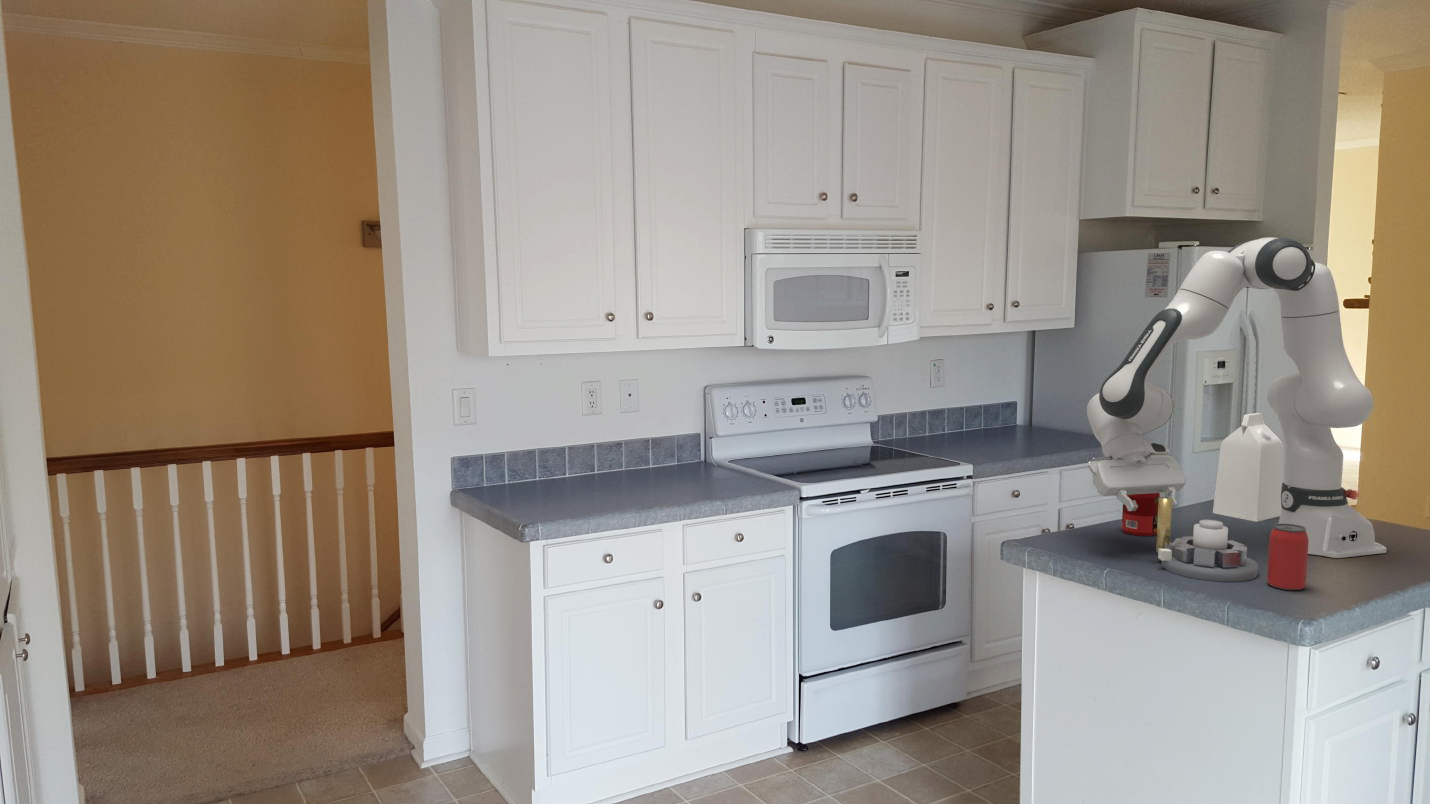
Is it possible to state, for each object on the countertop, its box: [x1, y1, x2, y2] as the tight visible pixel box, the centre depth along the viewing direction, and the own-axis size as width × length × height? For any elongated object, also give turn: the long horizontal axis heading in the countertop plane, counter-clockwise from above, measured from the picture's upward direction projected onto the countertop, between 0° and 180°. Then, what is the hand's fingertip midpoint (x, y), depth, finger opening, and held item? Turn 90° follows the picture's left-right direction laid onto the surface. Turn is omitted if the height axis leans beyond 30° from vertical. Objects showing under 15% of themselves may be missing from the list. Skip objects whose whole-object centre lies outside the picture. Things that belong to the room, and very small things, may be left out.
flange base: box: [1157, 519, 1259, 583], centre depth 209 cm, size 19×18×10 cm
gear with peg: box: [1155, 496, 1248, 568], centre depth 209 cm, size 17×13×12 cm
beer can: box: [1266, 523, 1309, 591], centre depth 196 cm, size 7×7×12 cm
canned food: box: [1121, 493, 1161, 537], centre depth 239 cm, size 8×8×11 cm
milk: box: [1212, 412, 1284, 523], centre depth 256 cm, size 12×12×26 cm
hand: (1153, 508), depth 215 cm, fingers open, 8 cm apart
